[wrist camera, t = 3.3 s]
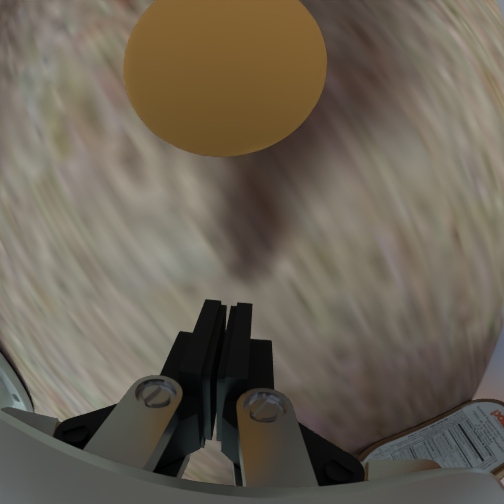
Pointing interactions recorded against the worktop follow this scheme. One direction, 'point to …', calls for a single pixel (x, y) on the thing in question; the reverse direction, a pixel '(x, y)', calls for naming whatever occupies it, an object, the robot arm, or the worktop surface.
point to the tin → (451, 439)
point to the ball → (225, 72)
